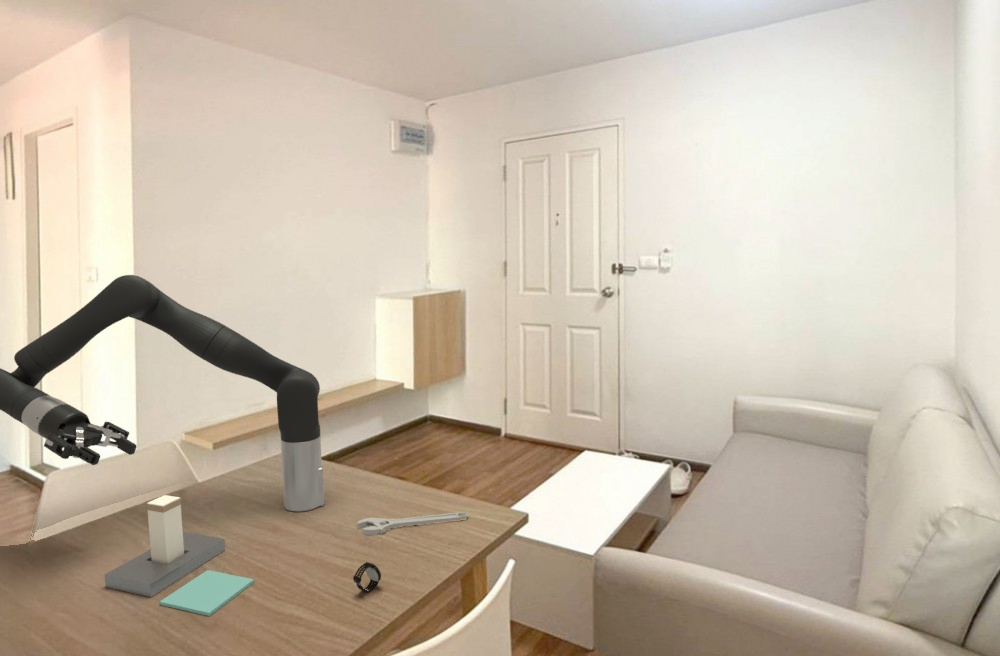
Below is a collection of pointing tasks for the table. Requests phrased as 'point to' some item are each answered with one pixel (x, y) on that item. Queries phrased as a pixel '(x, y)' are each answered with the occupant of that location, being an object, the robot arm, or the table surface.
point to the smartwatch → (372, 574)
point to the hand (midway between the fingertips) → (116, 455)
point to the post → (165, 529)
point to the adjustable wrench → (403, 522)
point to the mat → (207, 592)
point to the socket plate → (163, 566)
